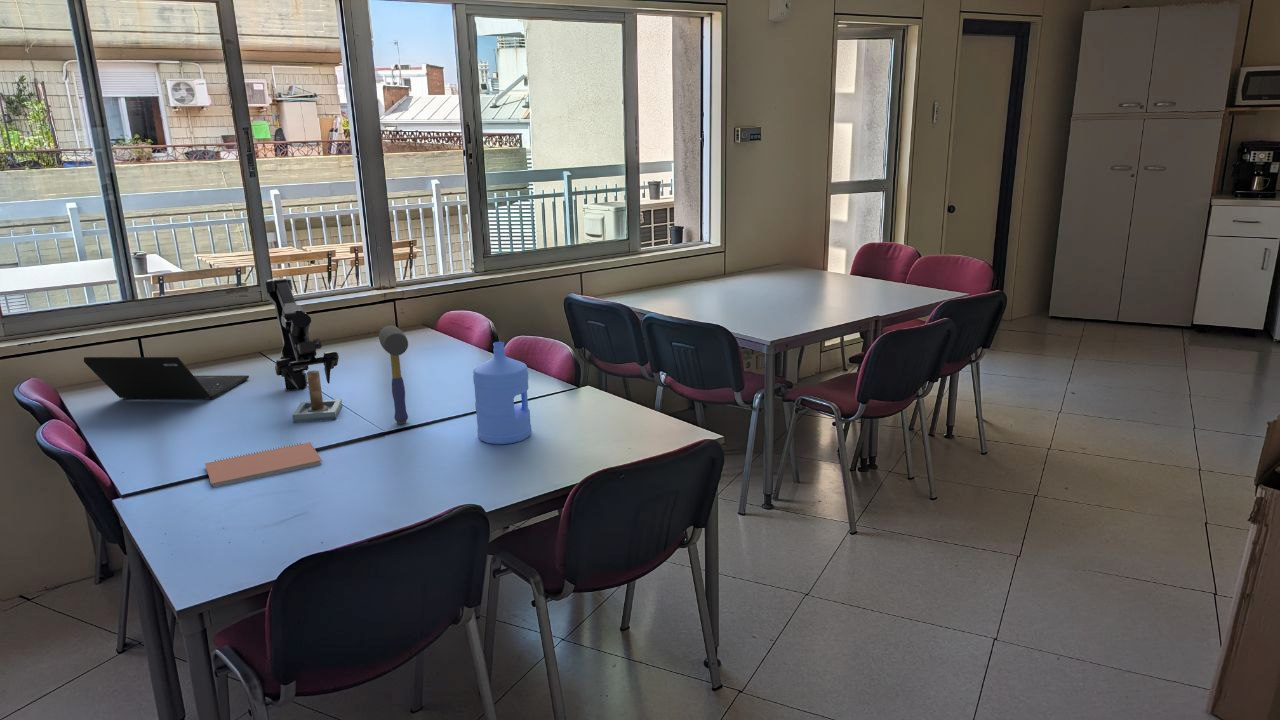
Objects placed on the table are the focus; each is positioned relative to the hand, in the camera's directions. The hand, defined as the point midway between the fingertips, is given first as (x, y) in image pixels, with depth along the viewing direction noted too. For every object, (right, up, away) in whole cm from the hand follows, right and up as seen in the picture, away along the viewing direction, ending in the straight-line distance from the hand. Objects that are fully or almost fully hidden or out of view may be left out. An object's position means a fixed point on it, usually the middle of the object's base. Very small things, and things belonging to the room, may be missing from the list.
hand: (313, 385), depth 266 cm
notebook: (+1, -21, -37) cm, 43 cm away
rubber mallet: (+30, -11, -7) cm, 33 cm away
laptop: (-57, -5, +24) cm, 61 cm away
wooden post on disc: (+1, -8, +1) cm, 8 cm away
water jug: (+64, -14, -19) cm, 68 cm away
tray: (+1, -9, +2) cm, 9 cm away
